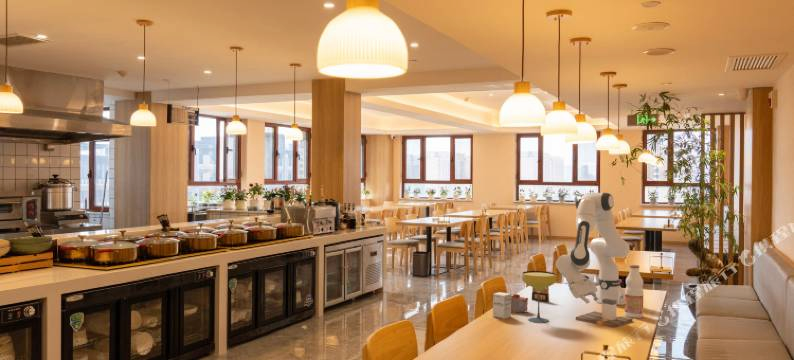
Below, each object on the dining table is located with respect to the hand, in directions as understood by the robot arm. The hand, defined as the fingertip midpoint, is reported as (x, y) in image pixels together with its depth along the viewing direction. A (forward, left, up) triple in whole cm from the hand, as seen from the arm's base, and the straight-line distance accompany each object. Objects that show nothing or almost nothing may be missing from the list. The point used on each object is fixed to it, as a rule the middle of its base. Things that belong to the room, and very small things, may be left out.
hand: (592, 301), depth 336 cm
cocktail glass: (+27, -16, -9) cm, 33 cm away
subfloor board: (0, +7, -9) cm, 11 cm away
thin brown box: (-17, -44, -9) cm, 48 cm away
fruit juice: (-22, +13, -9) cm, 27 cm away
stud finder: (0, +10, -8) cm, 12 cm away
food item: (+19, -37, -9) cm, 43 cm away
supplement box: (+35, -34, -9) cm, 50 cm away
